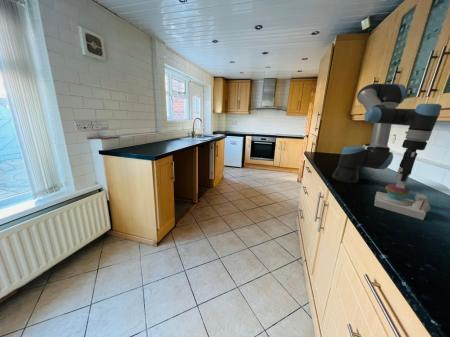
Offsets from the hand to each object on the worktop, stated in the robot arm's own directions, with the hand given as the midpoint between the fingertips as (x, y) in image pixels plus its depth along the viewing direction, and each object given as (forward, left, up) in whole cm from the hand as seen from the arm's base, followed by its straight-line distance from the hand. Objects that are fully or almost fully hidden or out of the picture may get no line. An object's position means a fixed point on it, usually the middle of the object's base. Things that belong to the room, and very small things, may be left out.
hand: (398, 183), depth 89 cm
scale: (0, +2, -12) cm, 12 cm away
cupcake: (0, 0, -8) cm, 8 cm away
